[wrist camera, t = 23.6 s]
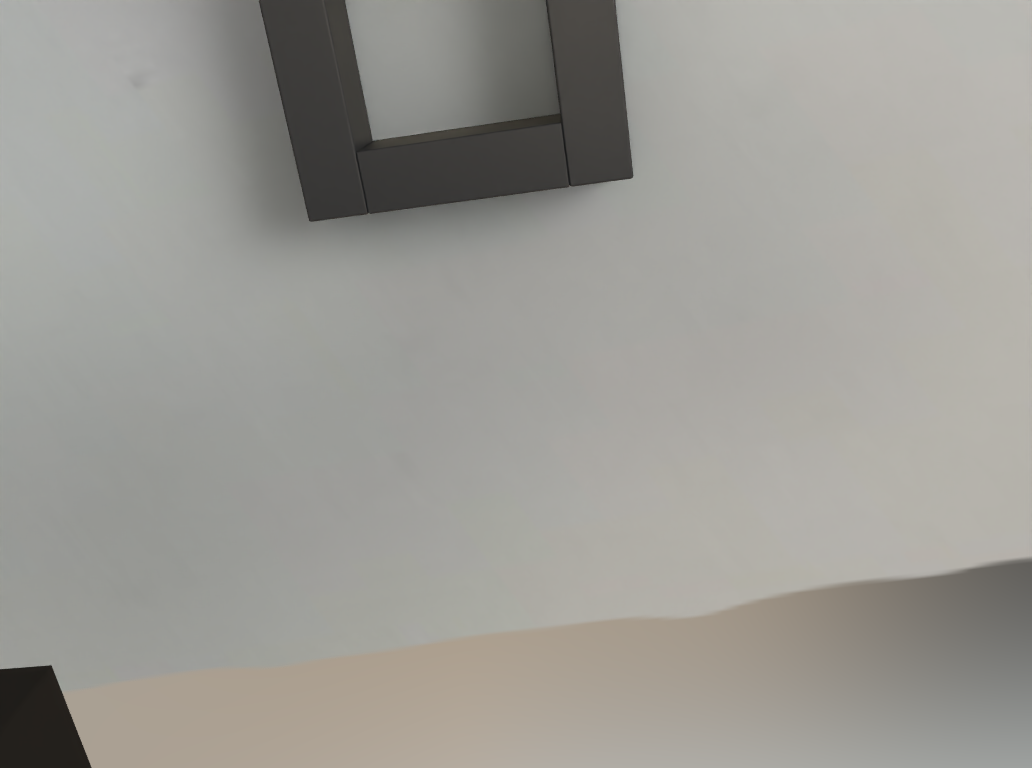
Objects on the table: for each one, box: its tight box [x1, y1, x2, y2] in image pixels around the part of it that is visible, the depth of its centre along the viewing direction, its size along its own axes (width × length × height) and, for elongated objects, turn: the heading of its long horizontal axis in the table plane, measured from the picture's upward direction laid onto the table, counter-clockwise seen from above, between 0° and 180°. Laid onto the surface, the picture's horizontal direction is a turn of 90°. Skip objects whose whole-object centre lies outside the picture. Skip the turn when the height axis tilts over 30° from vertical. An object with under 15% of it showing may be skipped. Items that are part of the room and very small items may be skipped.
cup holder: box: [259, 0, 633, 222], centre depth 33 cm, size 12×12×3 cm
